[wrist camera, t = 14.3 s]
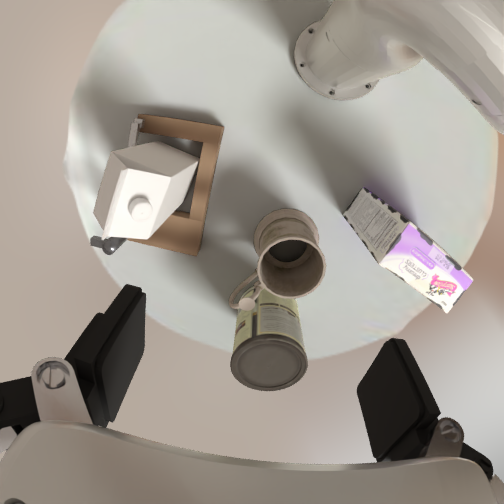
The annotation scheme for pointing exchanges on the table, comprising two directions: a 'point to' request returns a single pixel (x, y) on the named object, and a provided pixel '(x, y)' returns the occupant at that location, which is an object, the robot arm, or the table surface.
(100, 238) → the hook post
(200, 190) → the wooden frame
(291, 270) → the mug
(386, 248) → the candy box
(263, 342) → the coffee can
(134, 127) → the rail
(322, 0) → the table surface
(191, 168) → the milk carton
